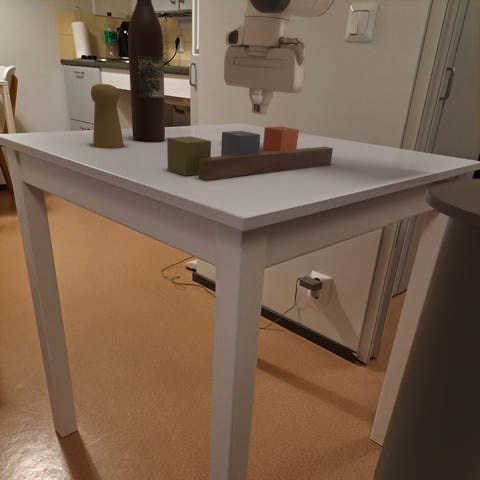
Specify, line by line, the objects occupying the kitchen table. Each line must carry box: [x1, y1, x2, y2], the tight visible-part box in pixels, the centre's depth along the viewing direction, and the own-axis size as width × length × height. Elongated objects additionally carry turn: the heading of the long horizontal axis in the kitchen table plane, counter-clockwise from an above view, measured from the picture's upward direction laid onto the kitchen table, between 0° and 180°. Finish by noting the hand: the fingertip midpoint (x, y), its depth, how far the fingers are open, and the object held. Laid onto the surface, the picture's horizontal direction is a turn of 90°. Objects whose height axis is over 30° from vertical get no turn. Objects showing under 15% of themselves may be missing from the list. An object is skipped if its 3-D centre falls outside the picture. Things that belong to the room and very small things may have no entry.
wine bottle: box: [127, 0, 166, 143], centre depth 94 cm, size 7×7×30 cm
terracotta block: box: [262, 126, 299, 152], centre depth 94 cm, size 5×5×5 cm
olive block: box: [166, 135, 212, 177], centre depth 74 cm, size 5×5×5 cm
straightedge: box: [198, 146, 334, 182], centre depth 79 cm, size 2×31×3 cm, turn 132°
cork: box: [90, 83, 125, 149], centre depth 89 cm, size 6×6×11 cm
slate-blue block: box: [220, 130, 261, 156], centre depth 84 cm, size 5×5×5 cm
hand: (259, 113), depth 96 cm, fingers closed
